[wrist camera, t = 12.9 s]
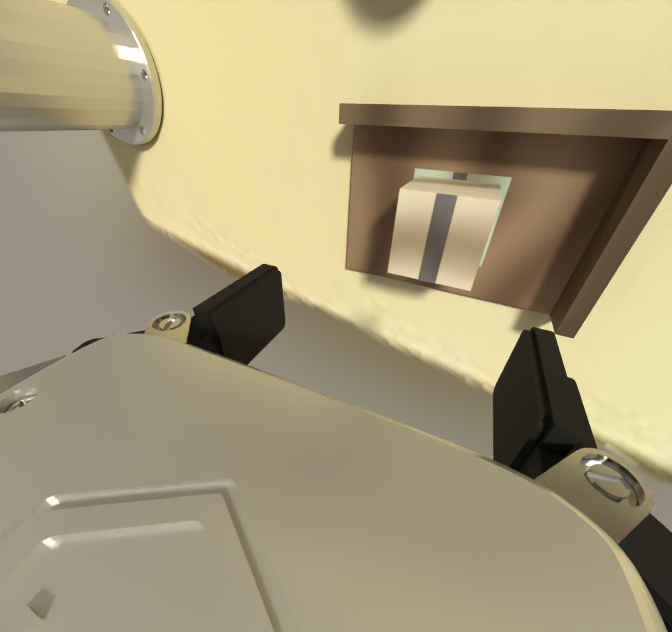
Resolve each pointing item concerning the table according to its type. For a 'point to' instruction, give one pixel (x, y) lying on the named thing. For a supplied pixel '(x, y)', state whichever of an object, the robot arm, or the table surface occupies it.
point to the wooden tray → (517, 192)
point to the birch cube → (442, 229)
